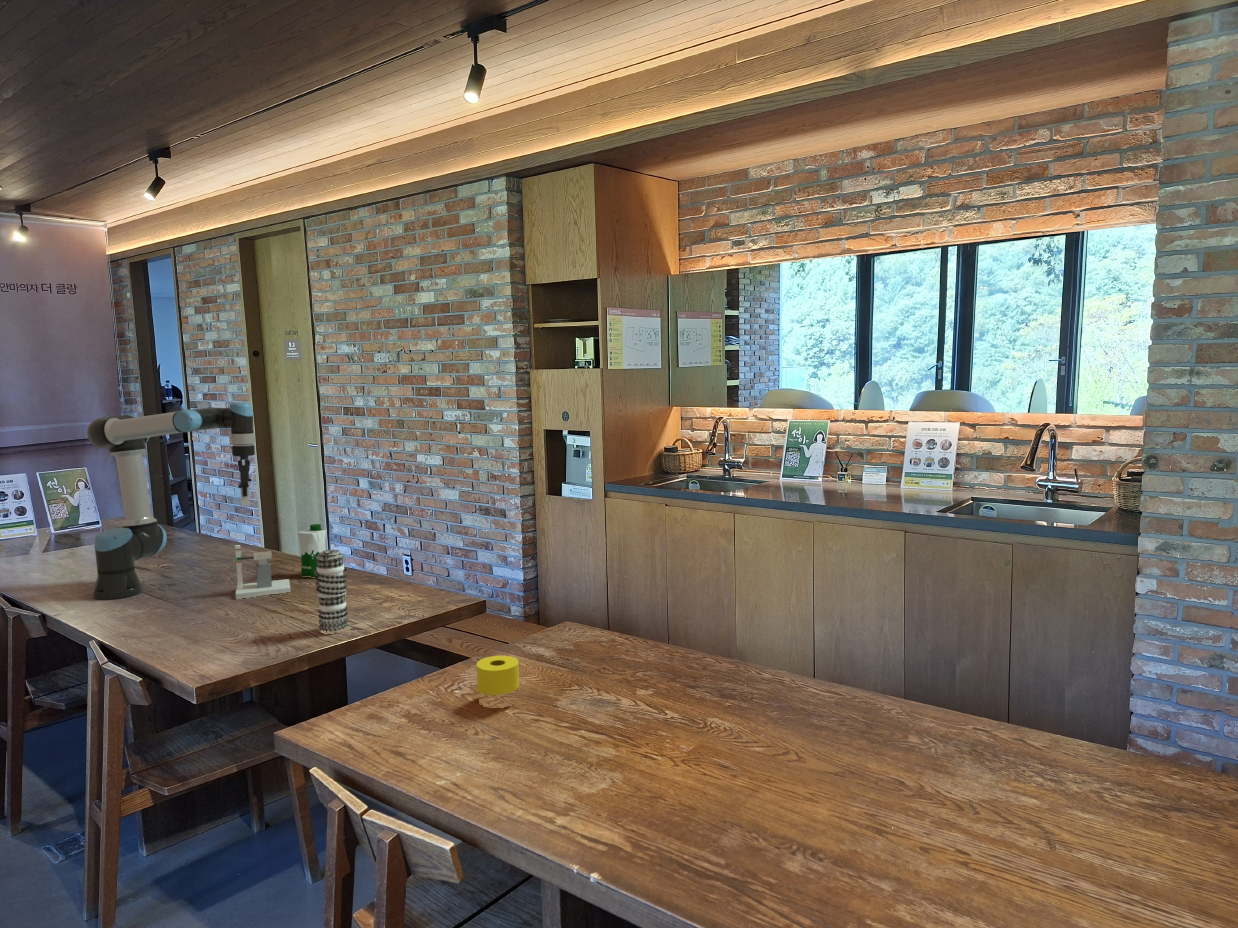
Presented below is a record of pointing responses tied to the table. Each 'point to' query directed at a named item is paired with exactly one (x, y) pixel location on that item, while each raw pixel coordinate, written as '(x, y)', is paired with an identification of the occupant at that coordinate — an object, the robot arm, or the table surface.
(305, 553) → the milk carton
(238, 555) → the stand
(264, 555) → the square paddle
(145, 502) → the robot arm
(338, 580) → the decorative candle
